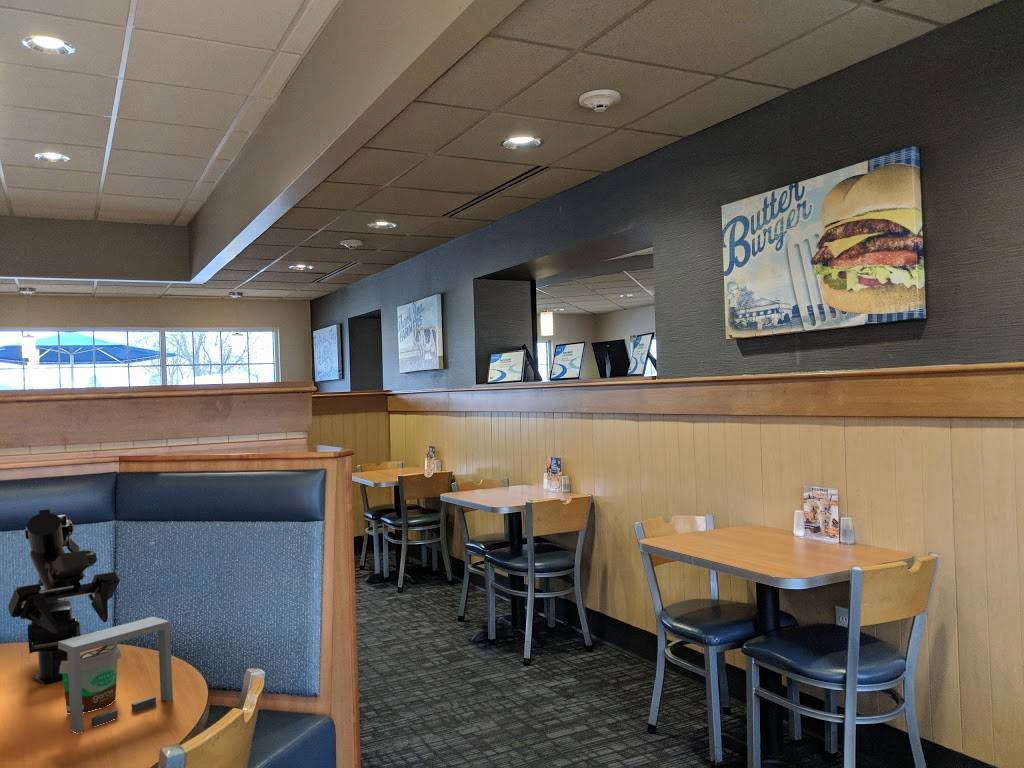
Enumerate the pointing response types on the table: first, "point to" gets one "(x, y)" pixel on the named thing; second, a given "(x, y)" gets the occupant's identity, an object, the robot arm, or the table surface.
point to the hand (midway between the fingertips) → (81, 625)
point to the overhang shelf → (109, 637)
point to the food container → (95, 677)
